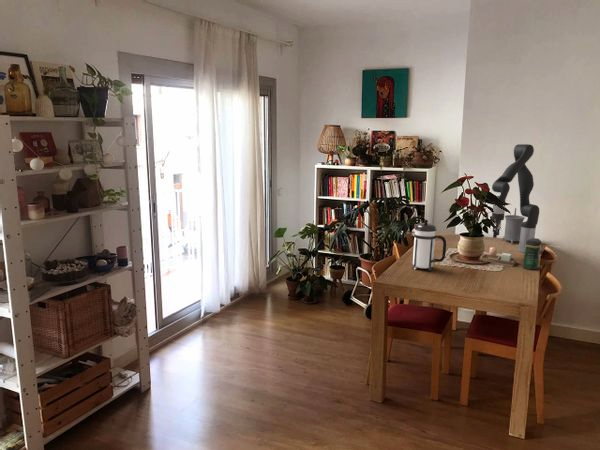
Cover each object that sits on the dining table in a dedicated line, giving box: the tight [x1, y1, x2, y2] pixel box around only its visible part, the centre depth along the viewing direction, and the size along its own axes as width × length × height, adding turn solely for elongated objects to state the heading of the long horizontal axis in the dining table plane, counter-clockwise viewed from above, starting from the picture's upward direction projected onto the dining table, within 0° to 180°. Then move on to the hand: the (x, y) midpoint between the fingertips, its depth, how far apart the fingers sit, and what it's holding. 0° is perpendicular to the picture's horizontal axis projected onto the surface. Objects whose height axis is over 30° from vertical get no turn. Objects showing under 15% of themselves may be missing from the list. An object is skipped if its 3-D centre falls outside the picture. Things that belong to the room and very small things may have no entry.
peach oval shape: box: [488, 246, 498, 256], centre depth 321 cm, size 5×5×6 cm
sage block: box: [500, 252, 512, 262], centre depth 306 cm, size 5×5×5 cm
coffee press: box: [411, 219, 447, 272], centre depth 289 cm, size 17×16×30 cm
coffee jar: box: [522, 237, 542, 271], centre depth 295 cm, size 10×8×19 cm
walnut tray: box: [479, 253, 517, 268], centre depth 309 cm, size 11×20×3 cm, turn 57°
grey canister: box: [501, 207, 526, 245], centre depth 362 cm, size 19×15×25 cm
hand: (495, 236), depth 318 cm, fingers open, 8 cm apart
